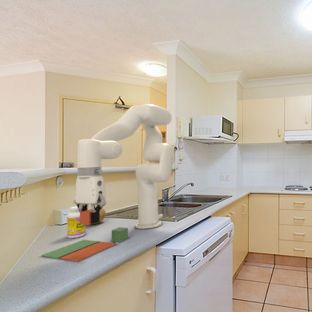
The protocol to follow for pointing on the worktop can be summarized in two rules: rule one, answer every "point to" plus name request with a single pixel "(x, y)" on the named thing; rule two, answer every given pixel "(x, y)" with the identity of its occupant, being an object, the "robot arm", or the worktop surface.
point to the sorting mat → (79, 250)
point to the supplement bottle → (74, 224)
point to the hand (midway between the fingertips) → (89, 221)
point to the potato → (102, 215)
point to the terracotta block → (85, 217)
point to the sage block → (119, 234)
